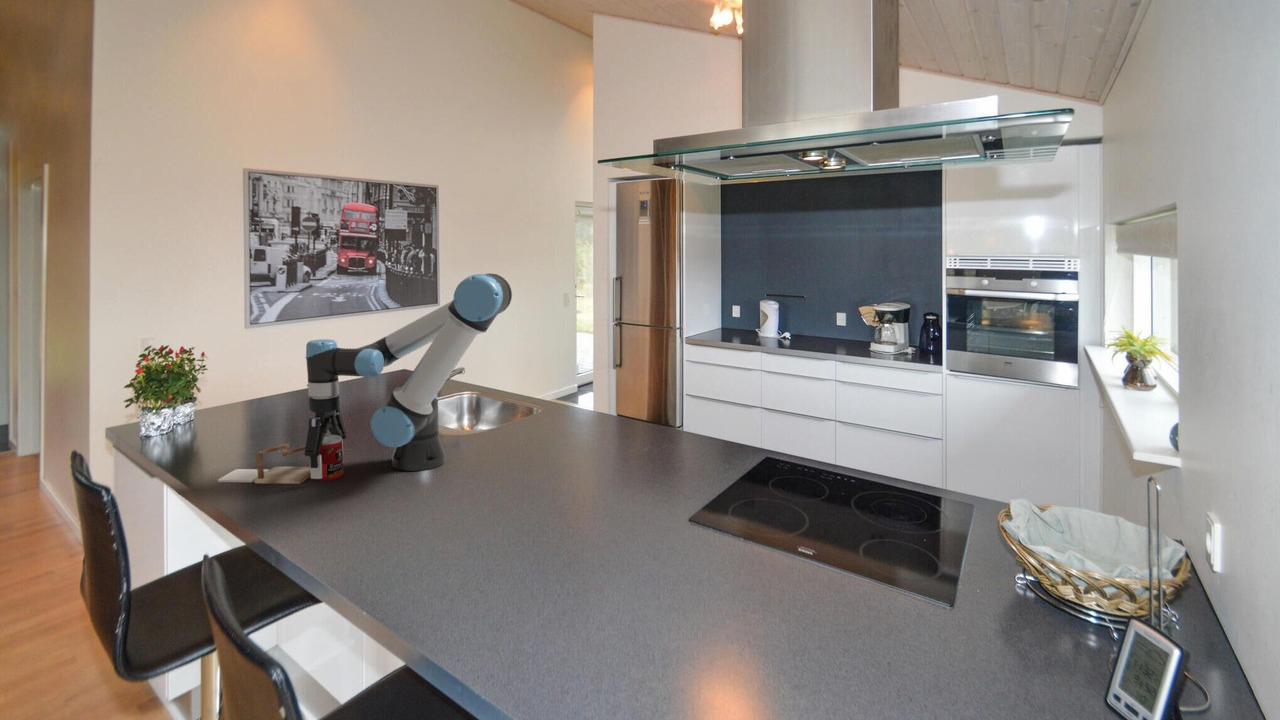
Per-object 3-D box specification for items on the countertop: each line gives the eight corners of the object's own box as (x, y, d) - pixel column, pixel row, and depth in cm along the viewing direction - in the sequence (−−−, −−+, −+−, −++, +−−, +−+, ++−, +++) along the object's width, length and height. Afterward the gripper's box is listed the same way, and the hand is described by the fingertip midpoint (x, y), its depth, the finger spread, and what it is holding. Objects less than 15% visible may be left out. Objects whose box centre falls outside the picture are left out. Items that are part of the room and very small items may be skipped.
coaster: (269, 471, 177) (268, 469, 177) (252, 482, 169) (251, 480, 169) (236, 471, 177) (236, 469, 177) (217, 481, 168) (217, 479, 168)
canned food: (332, 482, 170) (329, 443, 169) (306, 479, 172) (303, 441, 170) (350, 472, 178) (348, 435, 176) (325, 470, 179) (323, 433, 178)
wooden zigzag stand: (317, 470, 179) (316, 442, 178) (299, 483, 169) (297, 454, 167) (275, 469, 178) (273, 441, 177) (254, 483, 168) (252, 453, 167)
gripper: (330, 385, 183) (333, 455, 187) (286, 406, 159) (291, 485, 162) (356, 386, 183) (359, 455, 187) (316, 407, 159) (321, 486, 163)
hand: (327, 469), depth 175 cm, fingers open, 13 cm apart
